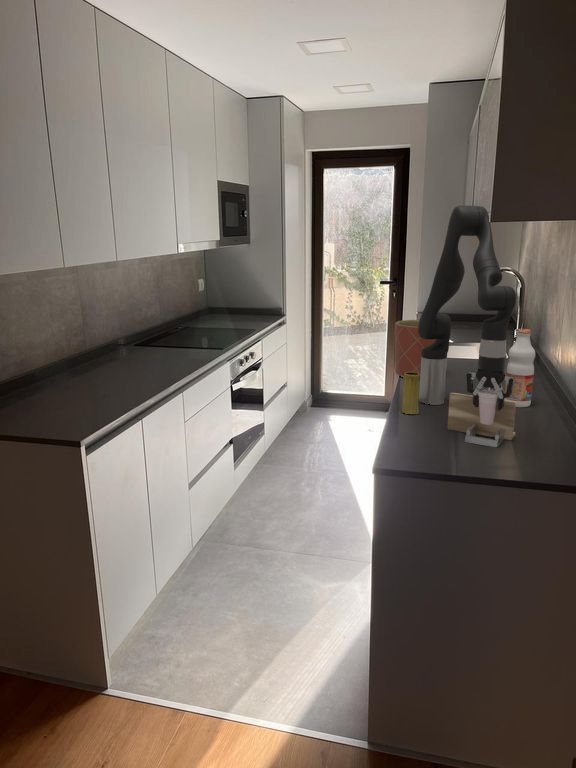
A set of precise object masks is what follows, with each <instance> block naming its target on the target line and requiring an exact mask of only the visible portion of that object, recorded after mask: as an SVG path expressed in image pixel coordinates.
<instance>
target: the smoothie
mask: <svg viewBox="0 0 576 768" xmlns="http://www.w3.org/2000/svg"><path fill="white" fill-rule="evenodd" d="M478 395H479V409H480V423H482V424H486V425H490V424H493V421H494V416H495V411H496V407H497V402H498V399H499V396H498V394H497V392H496V390H495V389H494V390H493V389H492V388H490V387H488V389H481V390H480V391H479V392H478Z"/></svg>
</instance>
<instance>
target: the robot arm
mask: <svg viewBox="0 0 576 768" xmlns="http://www.w3.org/2000/svg"><path fill="white" fill-rule="evenodd" d="M489 219H490V215H489V211H488V210H487V209H486V207H484V206H480V205H457V206H455V207H454V208H453V210H452V212H451V214H450V217H449V221H448V226H447V231H446V235H445V240H444V245H443V249H442V252H441V255H440V259H439V262H438V264H437V268H436V270H435V275H434V277H433V280H432V285H431V289H430V292H429V295H428V298H427V301H426V303H425V306H424V308H423V311H422V313H421V315H420V318H419V319H418V320H419V325H418V333H419V336H420V337H421V338H422V339H436V340H435V342H434V343H433V344H432V345H430V346H428V347H426V348H424V349H423V350H422V355H421V374H420V379H419V401H420V402H419V403H421V402H422V403H421V404H423V403H425V404H424V405H428V404H430V405H429V406H440V405H443V404H444V403H445V394H446V393H445V391H446V377H447V364H448V363H447V359H448V353H449V349H450V339H451V331H452V321H451V317H450V315H448V314H446V313H439V312H440V310H441V309H442V307H443V306H444V305H445V304H447V303H448V302H449V301H450V300H451V299H452V298H453V297H454V296H455V295H456V294H457V293H458V292H459V290H460V288H461V285H462V282H463V279H464V276H465V265H464V262H463V259H462V257H461V255H460V251H459V243H460V240H461V238H462V236H463V237H477V239H478V246H477V249H476V251H475V253H474V255H473V259H472V268H473V271H474V274H475V278H476V279H477V304H478V306H479V308H480V309H481V310H483V311H487V312H490V311H491V312H497V313H495V316H493V317H490V318H485V320H483V322H482V323H481V334H480V343H479V350H478V362H477V363H478V364H477V371H476V372H472V371H469V372H468V373H467V374H466V375H465V376H466V391H467V393H470V394H471V395H473V405H475V407H478V406H479V395H478V392H479V391H480V390H483V389H482V388H489V387H490V388H491V389H494V390H495V391H496V392H497V394H498V396H499V398H498V408H497V410H499V411H500V410H501V409H502V408H503V407H504V398H508V397H510V396H511V394H512V390H513V385H514V381H515V378H514V377H507V376H506V373H505V366H506V355H507V354H506V353H507V336H508V335H507V333H508V326H509V322H510V320H511V318H512V317H511V316H512V314H513V312H514V309H515V307H516V304H517V293H516V291H515V289H514V288H513V287H512V286H509V285H508V286H507V285H503V286H501V285H499V284H500V283H501V282H502V280H503V274H502V273H503V272H502V269H501V268H500V265H499V262H498V260H497V259H498V258H497V256H496V253H495V247H494V240H493V239H494V238H493V231H492V226H491V221H490V222H489ZM475 378H476V379H477V380H478V384H477V386H476V387H475V388H474V380H475ZM504 381H505V382H506V384H508V386H507V391H506V393H505V390H504V388H503V385H502V383H503V382H504Z"/></svg>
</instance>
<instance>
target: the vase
mask: <svg viewBox="0 0 576 768" xmlns="http://www.w3.org/2000/svg"><path fill="white" fill-rule="evenodd" d="M402 391H403V392H402V400H401V411H400V412H401V414H403V413H405V414H404V415H407V414H416V415H418V414H419V412H420V411H419V410H420V409H419V405H420V404H419V403H420V402H419V391H420V374H419V373H417V372H406V373H405V375H404V378H403V390H402Z"/></svg>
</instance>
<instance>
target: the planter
mask: <svg viewBox="0 0 576 768" xmlns="http://www.w3.org/2000/svg"><path fill="white" fill-rule="evenodd" d="M419 320H420V319H406V320H405V319H404V320H397V321H396V322H395V323H394V326H395V328H394V347H395V349H394V351H395V352H394V353H395V354H394V356H395V357H394V358H395V359H394V360H395V361H394V363H395V365H394V366H395V367H394V368H395V374H397V376H399V377H400V376H401V375H402V376H404V375H405V373H406V372H417V373H419V374H421V355H422V350H423V349H424V348H426V347H428V346H430V345H432V344H433V343H434V342H435V340H436V339H422V338H421V337H420V336H419V333H418V325H419Z"/></svg>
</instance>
